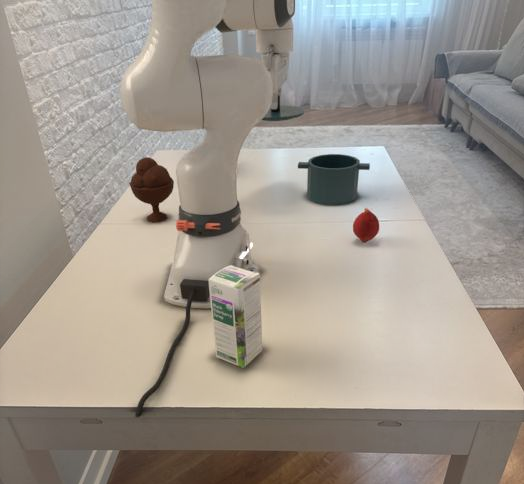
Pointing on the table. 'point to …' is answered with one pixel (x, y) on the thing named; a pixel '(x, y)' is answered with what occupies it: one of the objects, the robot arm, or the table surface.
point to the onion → (366, 226)
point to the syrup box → (236, 314)
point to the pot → (333, 178)
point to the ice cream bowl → (152, 186)
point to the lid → (283, 113)
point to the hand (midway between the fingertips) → (275, 107)
